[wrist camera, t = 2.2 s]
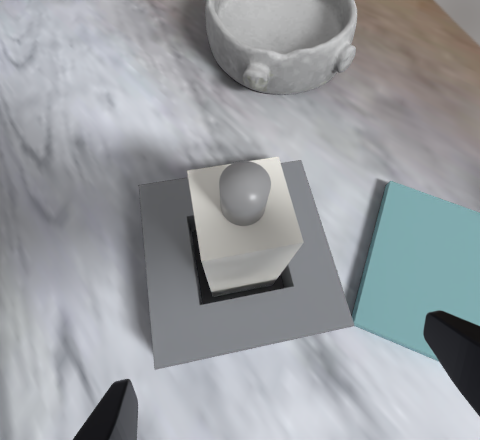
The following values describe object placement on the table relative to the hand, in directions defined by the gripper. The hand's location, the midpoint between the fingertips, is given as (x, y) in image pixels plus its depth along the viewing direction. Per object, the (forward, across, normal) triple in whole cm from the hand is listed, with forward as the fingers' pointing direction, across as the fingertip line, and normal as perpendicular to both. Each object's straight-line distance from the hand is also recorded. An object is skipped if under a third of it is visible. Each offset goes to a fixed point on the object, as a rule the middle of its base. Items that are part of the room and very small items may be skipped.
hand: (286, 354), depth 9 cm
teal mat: (+10, -15, +8) cm, 20 cm away
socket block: (+13, 0, +5) cm, 14 cm away
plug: (+13, 0, +5) cm, 14 cm away
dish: (+28, -8, -10) cm, 31 cm away
